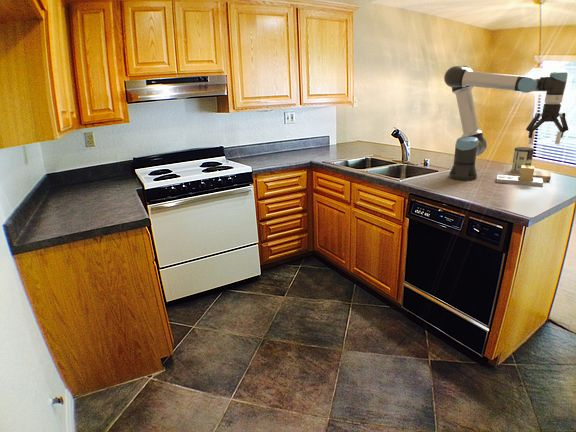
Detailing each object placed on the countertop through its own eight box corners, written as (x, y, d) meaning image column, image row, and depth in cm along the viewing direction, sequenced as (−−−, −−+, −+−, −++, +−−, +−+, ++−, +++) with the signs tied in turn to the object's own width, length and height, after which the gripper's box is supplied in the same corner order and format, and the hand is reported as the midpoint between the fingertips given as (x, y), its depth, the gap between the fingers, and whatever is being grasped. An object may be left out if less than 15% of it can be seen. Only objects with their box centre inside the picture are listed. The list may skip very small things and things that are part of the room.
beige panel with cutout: (496, 182, 211) (496, 178, 210) (496, 177, 220) (497, 174, 219) (542, 186, 201) (543, 182, 200) (541, 181, 210) (542, 177, 209)
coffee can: (526, 169, 237) (530, 147, 233) (532, 173, 228) (537, 149, 223) (508, 169, 240) (512, 147, 235) (514, 172, 230) (518, 149, 225)
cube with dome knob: (518, 183, 208) (521, 167, 204) (518, 181, 212) (521, 165, 209) (531, 184, 205) (534, 168, 202) (531, 182, 209) (534, 165, 206)
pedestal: (524, 179, 214) (525, 174, 213) (524, 175, 224) (525, 170, 223) (549, 181, 208) (550, 176, 207) (548, 176, 218) (549, 171, 217)
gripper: (531, 104, 193) (522, 145, 200) (582, 103, 190) (572, 145, 198) (523, 103, 200) (516, 142, 207) (573, 102, 197) (564, 142, 205)
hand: (543, 144), depth 203 cm, fingers open, 13 cm apart
